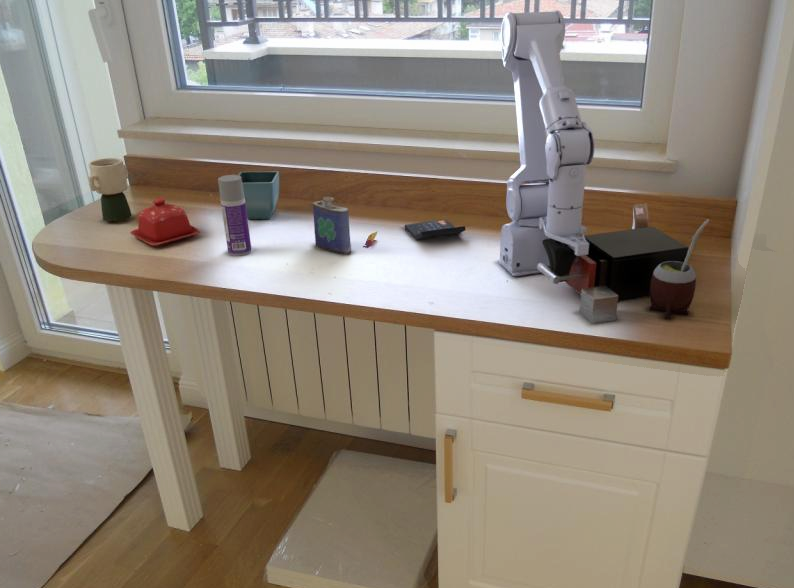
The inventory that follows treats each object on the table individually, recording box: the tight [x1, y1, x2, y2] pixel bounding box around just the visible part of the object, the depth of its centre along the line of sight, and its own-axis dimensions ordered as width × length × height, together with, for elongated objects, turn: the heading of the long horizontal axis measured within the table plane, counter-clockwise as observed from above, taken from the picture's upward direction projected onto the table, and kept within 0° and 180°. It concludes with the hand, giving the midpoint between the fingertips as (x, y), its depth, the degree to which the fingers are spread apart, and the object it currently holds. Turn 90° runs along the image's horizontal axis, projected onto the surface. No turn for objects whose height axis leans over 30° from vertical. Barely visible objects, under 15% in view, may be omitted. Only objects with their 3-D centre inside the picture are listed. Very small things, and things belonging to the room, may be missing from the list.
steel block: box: [578, 286, 619, 325], centre depth 132 cm, size 4×4×4 cm
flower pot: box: [238, 170, 280, 220], centre depth 179 cm, size 9×9×9 cm
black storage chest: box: [584, 226, 689, 302], centre depth 141 cm, size 14×11×8 cm
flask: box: [312, 196, 352, 255], centre depth 159 cm, size 9×3×11 cm, turn 50°
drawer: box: [537, 244, 612, 296], centre depth 140 cm, size 19×10×7 cm, turn 107°
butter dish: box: [129, 197, 201, 247], centre depth 168 cm, size 12×12×8 cm
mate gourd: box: [649, 218, 711, 320], centre depth 130 cm, size 8×8×15 cm
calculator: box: [404, 219, 466, 241], centre depth 168 cm, size 9×12×3 cm
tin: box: [631, 202, 650, 229], centre depth 155 cm, size 15×3×8 cm, turn 168°
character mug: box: [87, 157, 133, 223], centre depth 178 cm, size 11×7×13 cm, turn 154°
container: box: [217, 174, 253, 257], centre depth 158 cm, size 5×5×15 cm
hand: (559, 280), depth 139 cm, fingers closed, pressing on drawer
